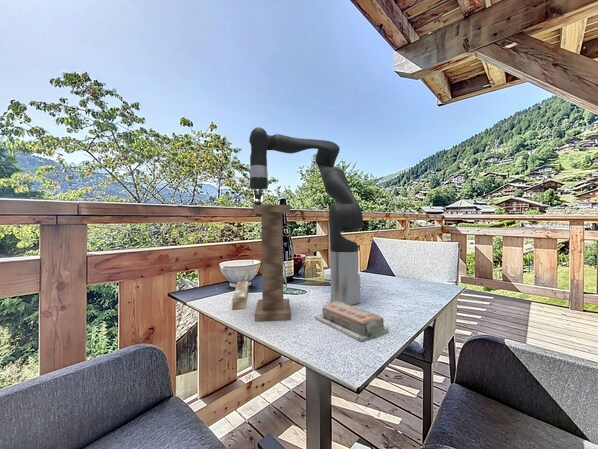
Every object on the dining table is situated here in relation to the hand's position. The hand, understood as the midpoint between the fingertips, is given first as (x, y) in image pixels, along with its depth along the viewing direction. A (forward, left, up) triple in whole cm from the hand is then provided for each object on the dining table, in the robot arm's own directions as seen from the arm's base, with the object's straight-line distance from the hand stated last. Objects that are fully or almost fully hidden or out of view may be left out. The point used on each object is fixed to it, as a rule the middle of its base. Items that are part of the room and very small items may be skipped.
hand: (259, 216), depth 111 cm
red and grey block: (-26, +44, -31) cm, 60 cm away
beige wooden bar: (+6, +16, -30) cm, 35 cm away
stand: (-6, +32, -30) cm, 44 cm away
